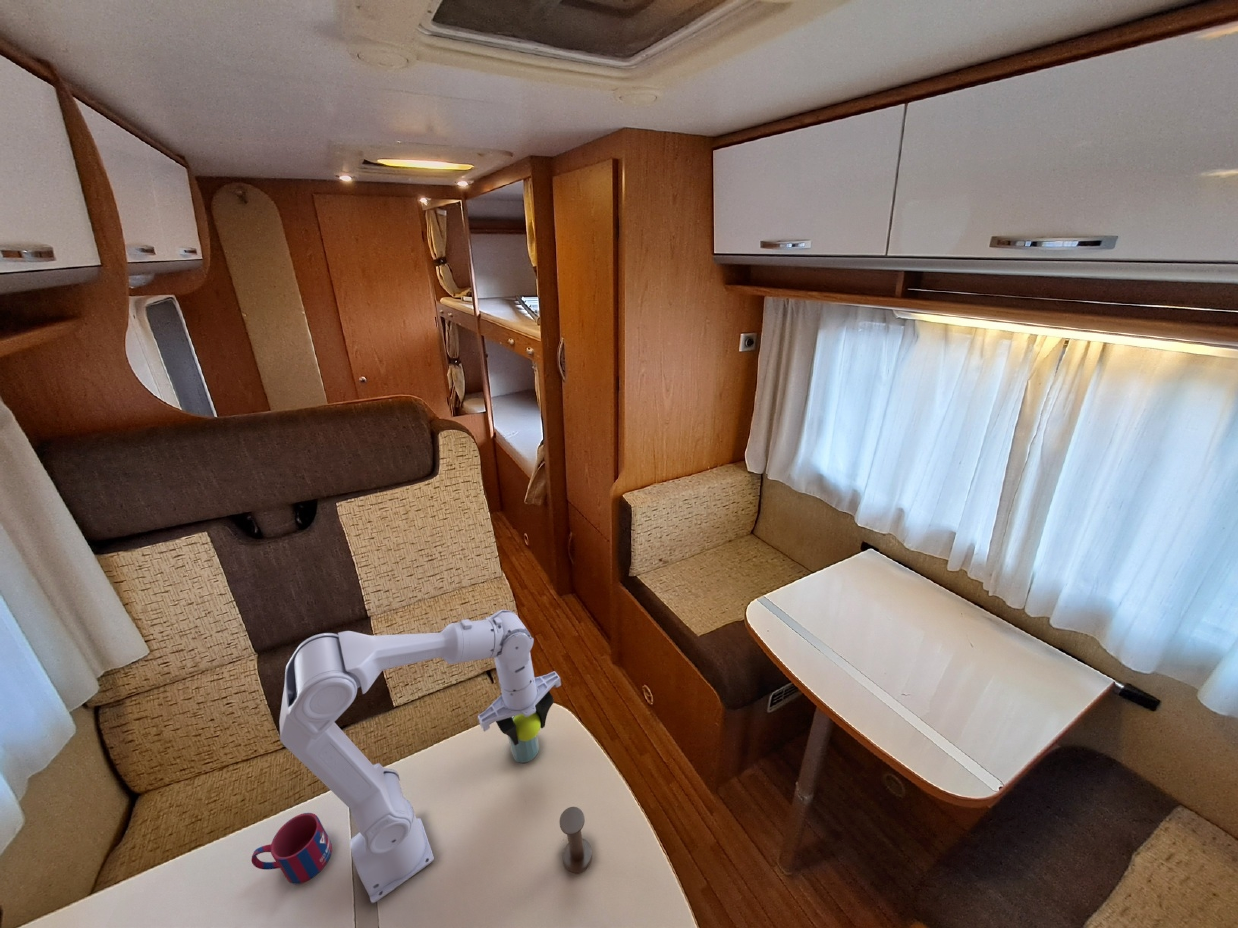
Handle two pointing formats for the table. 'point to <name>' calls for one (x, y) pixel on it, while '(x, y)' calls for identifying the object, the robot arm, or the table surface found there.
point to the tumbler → (524, 749)
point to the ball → (527, 726)
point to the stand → (575, 841)
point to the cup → (297, 849)
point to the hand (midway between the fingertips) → (527, 732)
